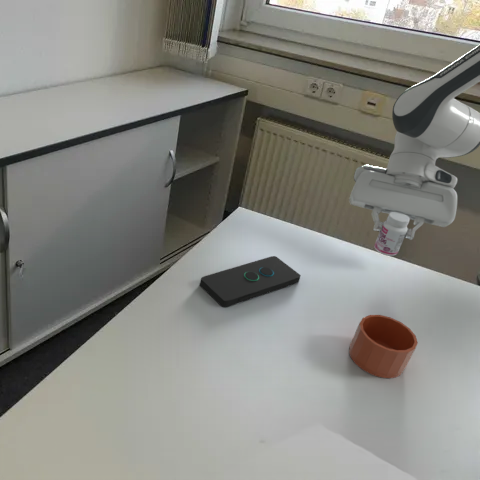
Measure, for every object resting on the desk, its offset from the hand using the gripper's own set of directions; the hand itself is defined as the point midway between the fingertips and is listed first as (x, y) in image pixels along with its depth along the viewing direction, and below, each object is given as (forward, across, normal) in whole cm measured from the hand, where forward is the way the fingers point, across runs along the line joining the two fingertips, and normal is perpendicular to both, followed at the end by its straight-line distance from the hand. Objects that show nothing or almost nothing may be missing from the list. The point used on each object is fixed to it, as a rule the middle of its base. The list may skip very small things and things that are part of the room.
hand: (392, 234), depth 112 cm
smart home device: (+20, -24, -8) cm, 33 cm away
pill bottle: (+3, 0, +4) cm, 5 cm away
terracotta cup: (+28, 0, -16) cm, 32 cm away
